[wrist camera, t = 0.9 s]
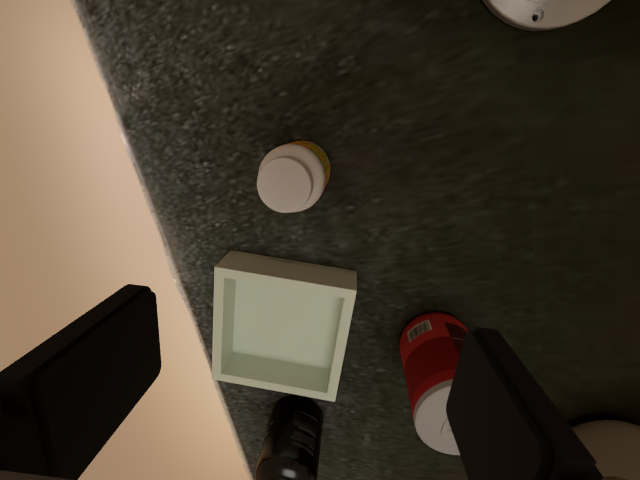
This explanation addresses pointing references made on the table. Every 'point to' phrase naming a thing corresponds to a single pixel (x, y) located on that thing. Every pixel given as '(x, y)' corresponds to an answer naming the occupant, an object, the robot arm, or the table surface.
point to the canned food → (432, 374)
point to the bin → (281, 323)
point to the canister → (612, 447)
